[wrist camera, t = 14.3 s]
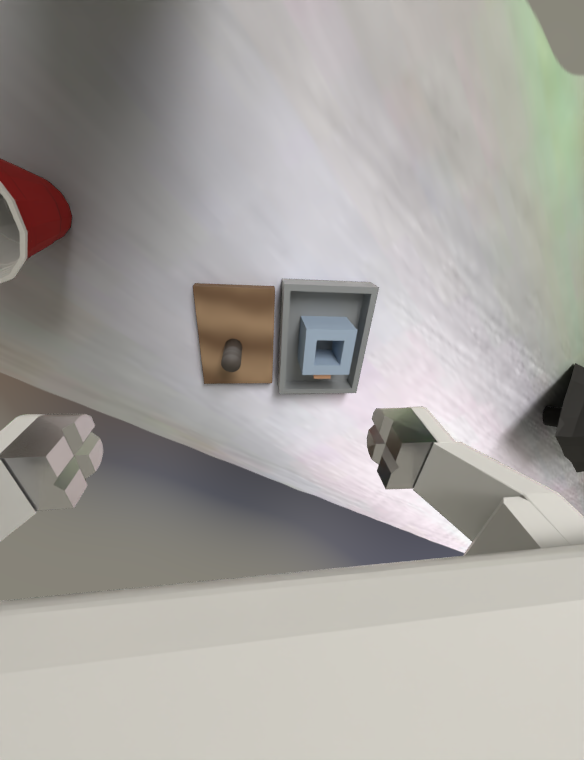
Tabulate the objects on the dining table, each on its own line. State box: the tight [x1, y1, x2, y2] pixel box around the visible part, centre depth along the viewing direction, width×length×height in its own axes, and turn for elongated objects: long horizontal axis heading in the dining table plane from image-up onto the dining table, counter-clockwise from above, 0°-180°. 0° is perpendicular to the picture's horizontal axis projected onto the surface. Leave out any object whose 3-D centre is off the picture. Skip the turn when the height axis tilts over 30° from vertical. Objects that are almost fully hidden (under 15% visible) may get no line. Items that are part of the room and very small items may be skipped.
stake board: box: [193, 283, 275, 384], centre depth 37 cm, size 14×10×6 cm
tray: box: [278, 279, 379, 394], centre depth 40 cm, size 16×12×3 cm
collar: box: [297, 316, 357, 379], centre depth 39 cm, size 8×6×5 cm
